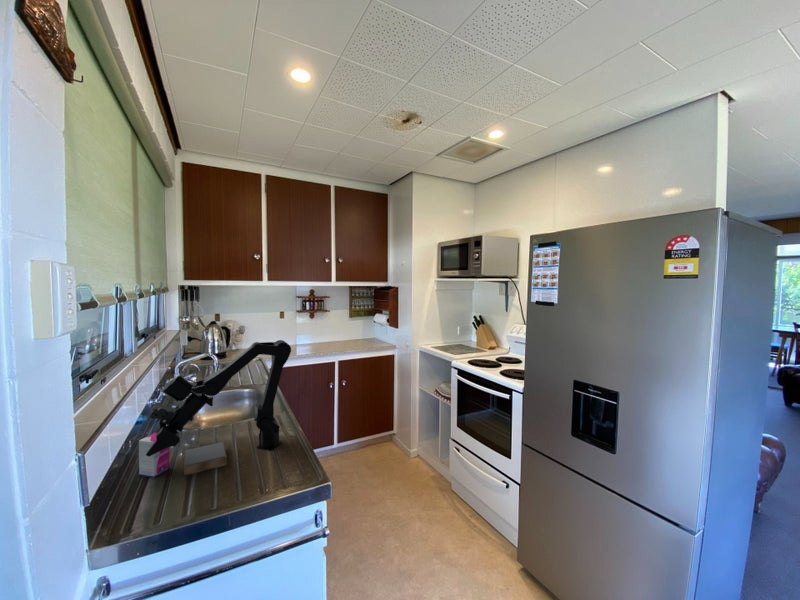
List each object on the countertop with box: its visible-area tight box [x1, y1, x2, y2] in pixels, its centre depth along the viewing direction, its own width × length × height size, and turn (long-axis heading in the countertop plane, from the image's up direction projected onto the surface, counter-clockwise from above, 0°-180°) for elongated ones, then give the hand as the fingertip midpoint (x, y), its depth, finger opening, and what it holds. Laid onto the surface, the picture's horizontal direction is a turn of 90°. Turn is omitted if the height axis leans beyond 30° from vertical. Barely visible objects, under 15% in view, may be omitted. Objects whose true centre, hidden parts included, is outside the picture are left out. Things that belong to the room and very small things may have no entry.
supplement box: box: [138, 432, 171, 479], centre depth 106 cm, size 6×6×12 cm
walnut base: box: [183, 441, 228, 476], centre depth 113 cm, size 12×12×3 cm
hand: (148, 449), depth 105 cm, fingers closed on supplement box, 8 cm apart
